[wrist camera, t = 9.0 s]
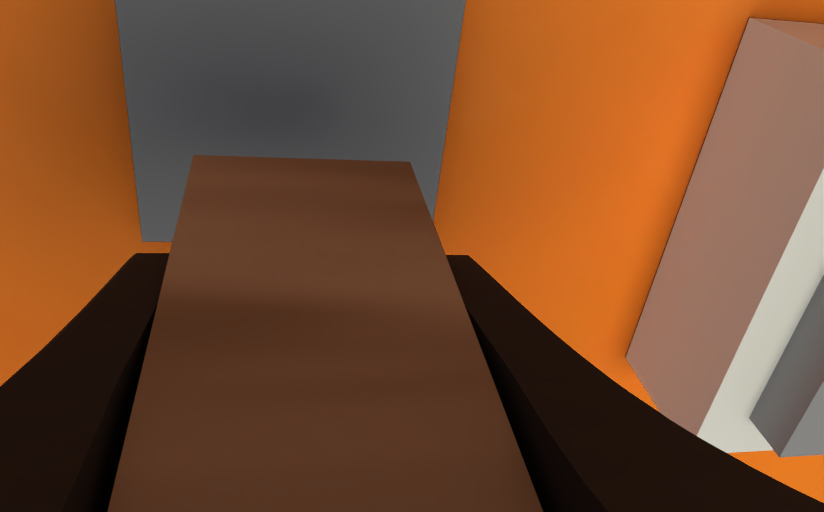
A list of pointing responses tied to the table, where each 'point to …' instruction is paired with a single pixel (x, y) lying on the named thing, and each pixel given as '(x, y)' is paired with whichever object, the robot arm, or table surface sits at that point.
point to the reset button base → (748, 260)
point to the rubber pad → (283, 87)
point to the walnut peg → (314, 355)
